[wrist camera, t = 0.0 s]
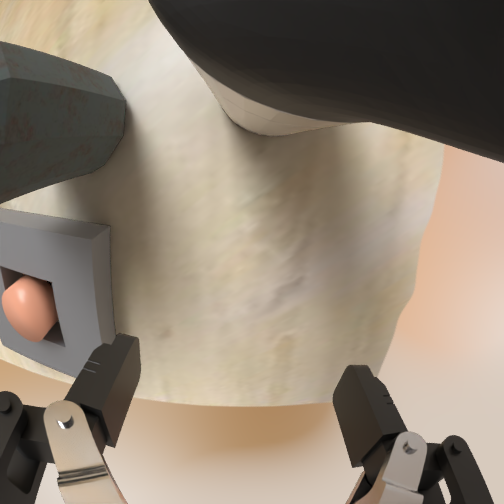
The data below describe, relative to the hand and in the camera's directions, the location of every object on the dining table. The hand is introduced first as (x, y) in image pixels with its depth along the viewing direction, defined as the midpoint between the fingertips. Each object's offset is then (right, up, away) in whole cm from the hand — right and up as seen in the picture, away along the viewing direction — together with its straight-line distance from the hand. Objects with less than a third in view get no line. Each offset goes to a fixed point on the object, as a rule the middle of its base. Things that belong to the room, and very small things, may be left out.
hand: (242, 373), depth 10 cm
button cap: (-25, -1, +16) cm, 30 cm away
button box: (-25, 0, +18) cm, 31 cm away
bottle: (-16, +17, +12) cm, 26 cm away
